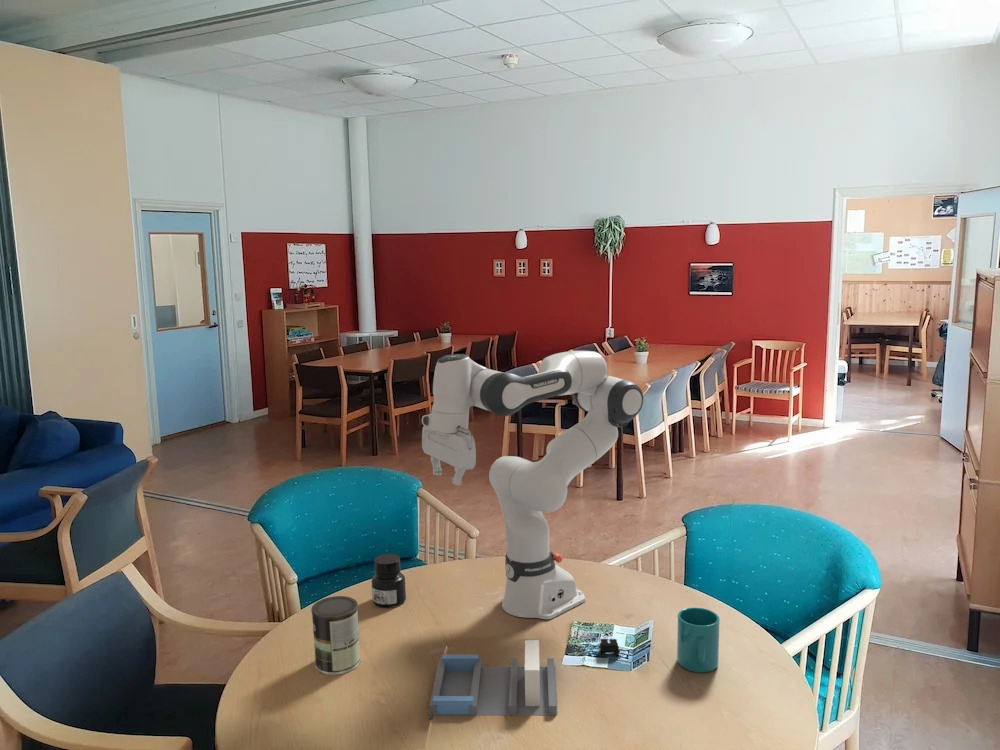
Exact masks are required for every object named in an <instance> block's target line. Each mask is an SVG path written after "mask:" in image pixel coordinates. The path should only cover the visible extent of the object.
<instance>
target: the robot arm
mask: <svg viewBox="0 0 1000 750" xmlns="http://www.w3.org/2000/svg"><path fill="white" fill-rule="evenodd" d="M435 364H436V365H435V369H434V375H433V381H432V393H433V394H432V395H433V403H432V406H431V413H429V414H425V415H423V416H422V417H421V424H422V425H423V426H422V433H421V448H422V451H423V453H424V454H426V455H429V456H430V461H431V466H432V474H433V475H434V476H438V477H439V476H442V474H443V468H442V467H441V462H443V463H445V464H447V465H450V466H452V467H453V468H454V471H455V473H454V476H451V484H452V485H454V486H462V481H463V480H462V479H463V478H464V475H465V473H466V471H469V470H473V469H474V468H475V467H476V462H477V461H476V460H477V459H476V458H477V456H476V455H477V452H476V451H477V450H476V440H475V438H474V436H473V434H472V433H471V430H470V429H469V423H470V422H469V419H470V408H471V407H477V408H480V409H482V410H485V411H488V412H491V413H493V414H495V415H497V416H499V417H508V416H511V415H515V413H517V412H519V411H520V410H521V409H523V408H524V407H526V406H527V405H529V404H533V403H535V402H539V401H543V400H546V399H549V398H554V397H558V396H561V397H562V396H567V395H571V397H572V402H573V403H574V405H575V406H576V407H577V408H579V409H580V410H582V411H584V412H587V414H586V415H585V417H584V418H583V419H582V420H581V421H579V422H578V423H576V424H574V425H573V426H571V427H570V428H568V429H567V430H565V431H564V432H562V433H561V434H559V435H558V436H556V437H554V438H553V439H551V440H550V441H549V442H548V444H547V447H546V451H545V452H546V453H545V455H544V456H543V457H542V458H540V460H538V461H531V460H528V459H526V458H523V457H520V456H514V455H513V456H511V455H503V456H500V457H498V458H497V459H496V460H495V461H494V462H493V463H492V464H491V466H490V469H489V473H488V477H489V478H488V479H489V483H490V484H491V486H492V487H493V489H494V492H495V493H496V496H497V499H498V501H499V505H500V508H501V509H500V510H501V512H502V516H503V519H504V520H503V521H504V524H505V536H506V537H505V539H506V553H505V561H504V562H505V566H504V567H505V575H506V577H505V578H506V581H505V582H506V583H505V589H504V593H503V594H504V595H503V599H502V602H501V608H502V609H503V611H505V613H506V614H509V615H511V616H514V617H519V618H526V619H527V618H529V619H532V618H533V619H534V618H535V619H536V618H537V619H541V620H552V619H553V618H555V617H558V616H559V615H561V614H563V613H565V612H567V611H569V610H571V609H572V608H575V607H577V606H579V605H581V604H583V603H585V602H586V596H585V594H584V592H583V591H582V590H580V589H579V588H577V585H576V581H575V579H574V577H573V575H572V574H570V572H568V571H567V570H566V569H563V568H562V567H561V566H559V565H557V564H556V563H555V562H557V563H558V564H559V563H561V562H562V561H563V559H564V558H563V556H562V554H559V553H557V552H556V553H554V552H553V551H551V550H550V527H549V523H548V521H547V519H546V518H545V516H544V514H543V513H553V512H556V511H557V510H559V509H560V508H561V507H563V506H564V504H565V501H566V499H567V495H568V486H569V484H570V483H571V481H572V480H573V479H574V478H575V477H576V476H577V475H579V474H580V473H582V472H583V471H584V470H585V469H587V468H588V467H590V466H591V465H592V464H594V463H595V462H597V461H598V460H599V459H600V458H601V457H603V456H604V455H605V454H606V453H607V452H608V451H610V449H611V448H612V447H613V446H614V445H615V444H616V443H617V441H618V438H619V430H618V428H623V427H627V425H629V422H630V421H632V420H634V418H636V417H637V415H638V414H639V413H640V411H641V410H642V408H643V405H644V404H643V403H644V394H643V389H641V387H640V386H639V385H637V383H635V382H633V381H631V380H627V379H623V378H620V377H616V376H611V375H608V366H607V365H608V364H607V361H606V360H605V358H604V357H603V355H602V354H600V353H599V352H597V351H592V350H570V351H563V352H558V353H554V354H551V355H548V356H546V357H544V358H543V359H542V361H541V362H540V363H539V367H538V371H537V373H534V374H532V375H531V374H530V375H526V376H520V375H517V374H514V373H510V372H502V371H498V370H494V369H490V368H487V367H485V366H483V365H481V364H480V363H479V364H478V363H477V362H475V361H474V360H473V359H471V358H470V356H469V355H468V354H464V353H455V354H454V353H453V354H452V353H450V354H447V355H443V356H441V357H440V358H438V360H437V362H436V363H435Z"/></svg>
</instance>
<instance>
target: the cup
mask: <svg viewBox="0 0 1000 750" xmlns="http://www.w3.org/2000/svg"><path fill="white" fill-rule="evenodd" d="M720 620H721V619H720V616H719V615H718V614H717V613H716V612H714V611H713V610H710V609H707V608H703V607H688V608H684V609H681V610H680V611H679V612H678V613H677V632H676V633H677V635H676V636H677V638H676V639H677V640H676V641H677V642H676V644H677V645H676V660H677V663H678V664H679V665H680V667H681V668H684V669H685V670H687V671H689V672H693V673H700V674H703V673H709V672H712V671H714V670H715V669H716V668H717V667H718V665H719V654H720V653H719V651H720V649H719V648H720V623H721V622H720Z"/></svg>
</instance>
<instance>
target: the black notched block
mask: <svg viewBox="0 0 1000 750" xmlns="http://www.w3.org/2000/svg"><path fill="white" fill-rule="evenodd" d="M598 649H599V650H598V651H599V652H598V653H599V657H600V658H602V656H603V655H602V654H607V653H609V654H610V653H611V654H616V656H617V658H620V656H619V655H620V652H621V650H620V646H619V643H618V640H617V639H616V638H610V639H609V641H608V638H601V639H600V642H599V645H598Z"/></svg>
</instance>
